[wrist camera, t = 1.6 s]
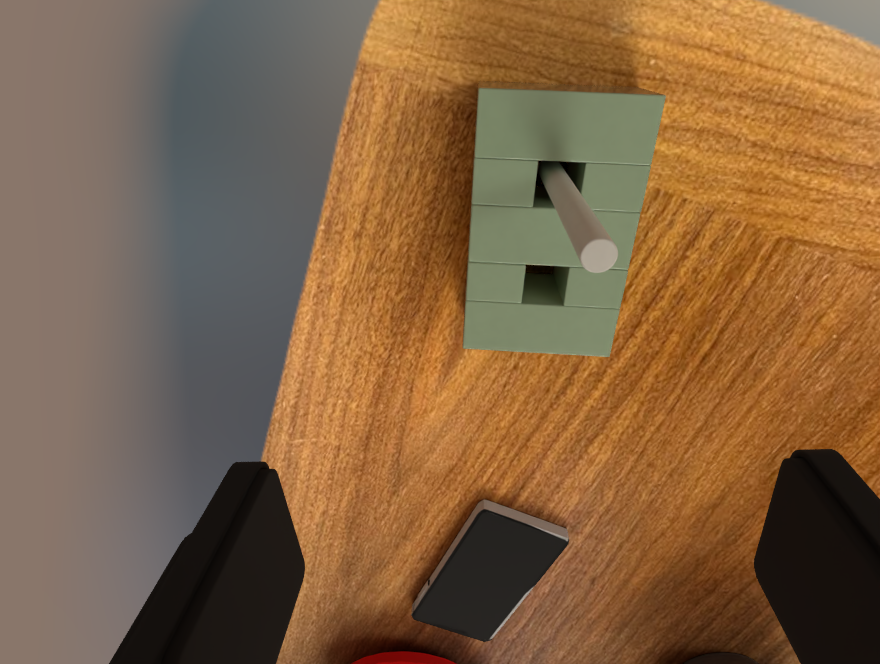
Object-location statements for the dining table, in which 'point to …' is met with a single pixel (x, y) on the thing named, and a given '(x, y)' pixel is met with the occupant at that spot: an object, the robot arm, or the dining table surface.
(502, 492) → the dining table surface
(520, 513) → the smartphone
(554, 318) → the pen holder
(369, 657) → the red disc with nozzle
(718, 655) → the planter
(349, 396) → the dining table surface
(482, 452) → the dining table surface
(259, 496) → the robot arm
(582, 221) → the grey cylindrical rod
